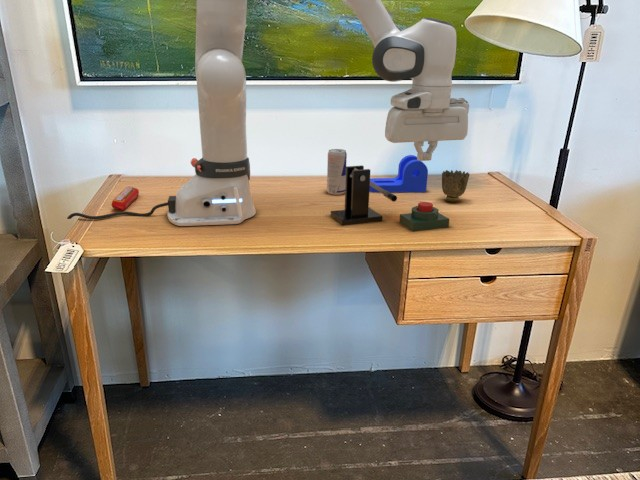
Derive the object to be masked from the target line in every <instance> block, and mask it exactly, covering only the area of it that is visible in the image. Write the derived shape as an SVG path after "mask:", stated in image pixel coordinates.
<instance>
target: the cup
mask: <svg viewBox="0 0 640 480" xmlns="http://www.w3.org/2000/svg"><path fill="white" fill-rule="evenodd" d="M469 178H470V173H469V172H468V171H467V172H465V171H462V170H457V169H456V170H455V171H453V169H451V170H448V169H446V170H445V171H444V170H443V171H442V172H441V189H442V192H443V194H444V195H445V200H446V201H447V202H449V203H458V202H459V200H460V197H461V196H463V195H464V193H465V192H466V189H467V186H468V183H469Z"/></svg>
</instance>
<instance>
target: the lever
mask: <svg viewBox="0 0 640 480" xmlns="http://www.w3.org/2000/svg"><path fill="white" fill-rule="evenodd" d="M353 170H358V169H356V168H354V169H353ZM350 177H352V173H351V174H350ZM370 186H371V187H373V188H374V189H376V190H378V191H379V192H381V193H380V194H382V195H383V197H385V198H387V200H390V201H391V202H396V201H397V200H398V195H396V194H394V193H393V192H389V191H385V190H384V189H382V188H381V187H379V186H377V185H376V184H374V183H373V182H371V181H370Z"/></svg>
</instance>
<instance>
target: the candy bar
mask: <svg viewBox="0 0 640 480" xmlns="http://www.w3.org/2000/svg"><path fill="white" fill-rule="evenodd" d="M139 191H140V190H139V189H138V188H136V187H133V186H126V188H124V189H123V190H122V191H121V192H120V193H119V194H117V195H116V196H115V197H114V198H113V199H112V201H111V207H112V208H113V209H117V210H120V211H125V210H126V209H127V208H128V207H129V206H130V205H131V204H132V203H133V202H134V201H135V200H136V199H138V197H139V194H140V192H139Z"/></svg>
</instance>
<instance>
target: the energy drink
mask: <svg viewBox="0 0 640 480" xmlns="http://www.w3.org/2000/svg"><path fill="white" fill-rule="evenodd" d="M347 156H348V153H347V150H345V149H343V148H331V149H328V152H327V167H326V168H327V169H326V171H327V173H326V174H327V175H326V192H327V194H329V195H333V196H341V195H345V186H346V167H347V158H348V157H347Z"/></svg>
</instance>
